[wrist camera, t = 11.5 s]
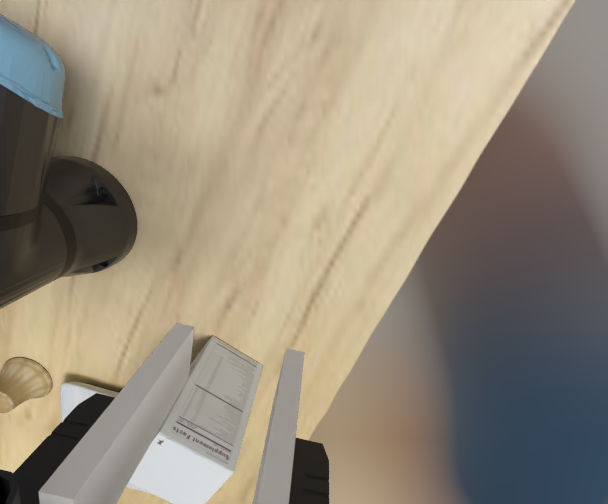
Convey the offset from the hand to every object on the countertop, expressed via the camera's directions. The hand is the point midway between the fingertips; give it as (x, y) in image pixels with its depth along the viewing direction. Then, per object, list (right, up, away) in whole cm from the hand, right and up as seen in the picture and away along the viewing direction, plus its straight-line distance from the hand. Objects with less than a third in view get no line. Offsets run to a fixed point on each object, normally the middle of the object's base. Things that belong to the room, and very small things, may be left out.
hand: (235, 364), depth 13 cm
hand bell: (-43, -16, +40) cm, 61 cm away
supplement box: (-10, -14, +36) cm, 40 cm away
